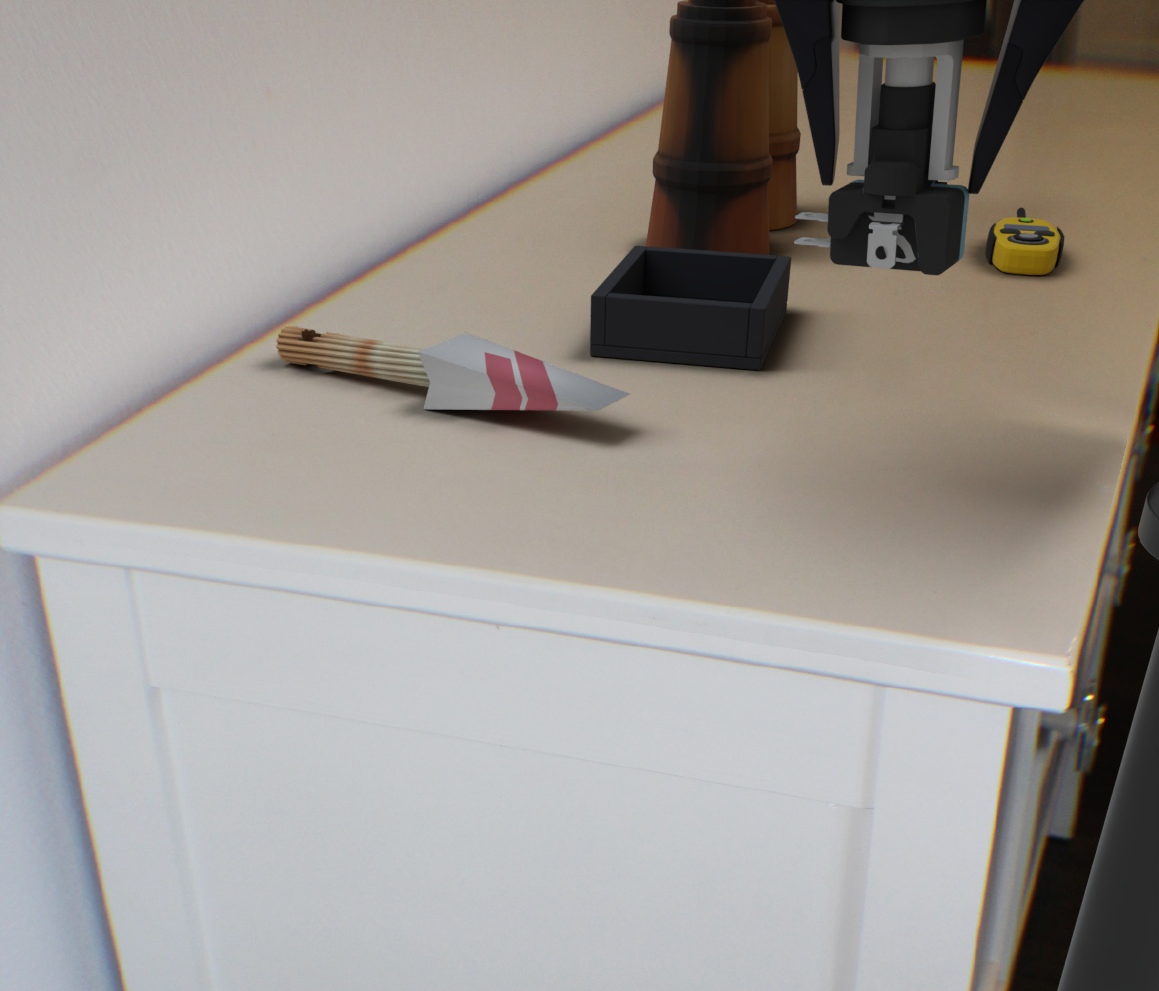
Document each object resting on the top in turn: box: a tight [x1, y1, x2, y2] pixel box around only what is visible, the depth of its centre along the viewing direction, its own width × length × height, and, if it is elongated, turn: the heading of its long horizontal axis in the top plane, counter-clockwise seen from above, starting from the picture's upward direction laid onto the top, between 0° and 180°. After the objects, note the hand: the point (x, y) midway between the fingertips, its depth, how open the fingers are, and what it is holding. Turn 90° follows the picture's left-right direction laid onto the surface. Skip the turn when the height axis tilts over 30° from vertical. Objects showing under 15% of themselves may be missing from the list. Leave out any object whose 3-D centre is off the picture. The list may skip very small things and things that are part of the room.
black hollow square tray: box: [589, 245, 792, 371], centre depth 78 cm, size 9×11×3 cm
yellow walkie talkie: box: [984, 207, 1065, 276], centre depth 95 cm, size 5×2×15 cm
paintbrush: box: [275, 325, 631, 412], centre depth 69 cm, size 4×3×20 cm
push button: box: [793, 0, 988, 276], centre depth 51 cm, size 7×5×10 cm
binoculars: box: [645, 0, 802, 255], centre depth 92 cm, size 18×8×20 cm, turn 162°
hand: (900, 188), depth 53 cm, fingers closed on push button, 5 cm apart
